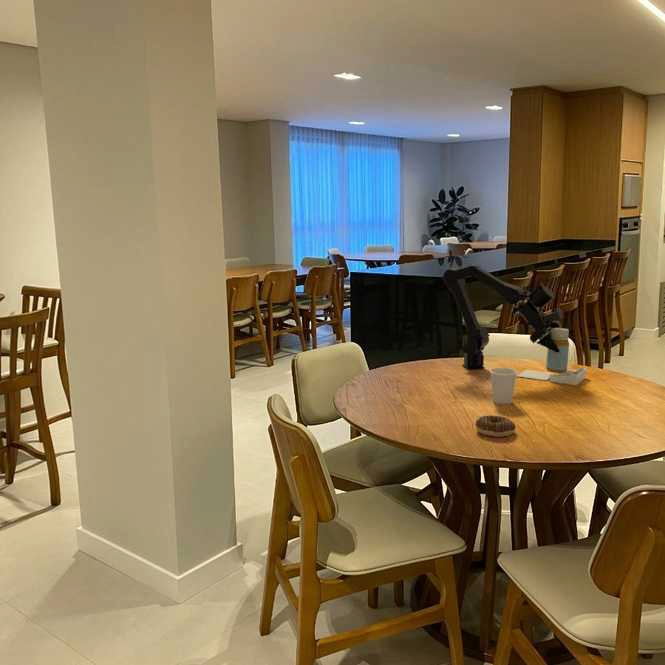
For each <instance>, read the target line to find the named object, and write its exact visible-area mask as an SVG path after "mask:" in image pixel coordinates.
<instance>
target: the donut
mask: <svg viewBox="0 0 665 665" xmlns="http://www.w3.org/2000/svg"><path fill="white" fill-rule="evenodd" d="M516 427H517V426H516V424H515V422H513V421H512V420H510V419H509V418H507V417H504V416H500V415H493V414H492V415H491V414H490V415H483V416H479V417H478V418H477V419H476V421H475V429H476V430H477V431H478V433H480V434H482V435H483V436H487V435H488V437H491V436H494V437H493V438H505V437H504V436H506V437H509V436H510V435H512V434H513V433H514V432H515V429H516Z"/></svg>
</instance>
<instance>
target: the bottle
mask: <svg viewBox="0 0 665 665" xmlns="http://www.w3.org/2000/svg"><path fill="white" fill-rule="evenodd" d="M550 332H552V336H551V337H552V339H553V341H554V342H555V344H556V345H557V347H558V349H559V350H560V351H559V352H558V353H557V352H554V351H552V350H550V349H548V348H547V353H546V366H545V367H546V368H545V369H546V370H547V371H548V373H556V374H558V373H564V372H566V371H567V369H568V364H569V353H570V352H569V350H570V342H569V334H570V333H569V332H570V330H569V329H568V328H565V327H564V328H563V327H561V328H551V329H550Z"/></svg>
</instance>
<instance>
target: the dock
mask: <svg viewBox="0 0 665 665" xmlns="http://www.w3.org/2000/svg"><path fill="white" fill-rule="evenodd" d="M586 377H587V368H584V367H579V368H578V369H576V370H574V369H568V368H567V371H566V372H564V373H556V374H550V379H549V382H550V381H551V383H557V382H558V384H564V383H565V385H570V386H577V385H579V384H580V383H581V382H583V381H584V380H585V379H586ZM582 380H583V381H582Z"/></svg>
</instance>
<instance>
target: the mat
mask: <svg viewBox="0 0 665 665" xmlns="http://www.w3.org/2000/svg"><path fill="white" fill-rule="evenodd" d="M550 374H556V375H557V373H553V372H549V371H548V372H547V371H539V370H533V369H526V370H523V371H521V372H520V373H519V374H518V373H517V374H516V378H520V377H524V378H523V379H528V378H531V379H530V380H535V379H539V380H538V381H542V380H546V381H545V382H547V381H549V380H550ZM548 379H549V380H548Z"/></svg>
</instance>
